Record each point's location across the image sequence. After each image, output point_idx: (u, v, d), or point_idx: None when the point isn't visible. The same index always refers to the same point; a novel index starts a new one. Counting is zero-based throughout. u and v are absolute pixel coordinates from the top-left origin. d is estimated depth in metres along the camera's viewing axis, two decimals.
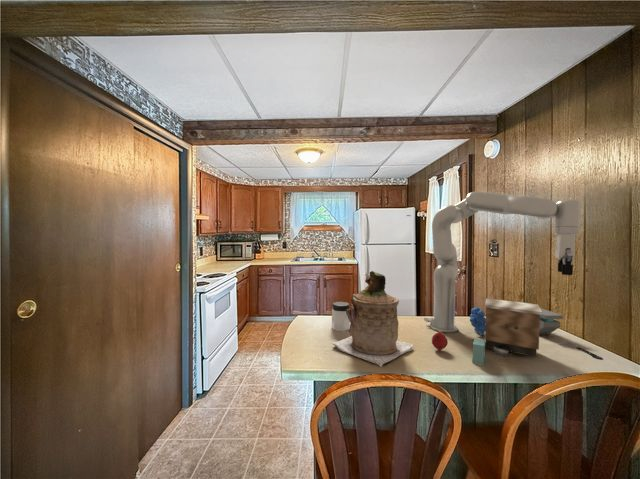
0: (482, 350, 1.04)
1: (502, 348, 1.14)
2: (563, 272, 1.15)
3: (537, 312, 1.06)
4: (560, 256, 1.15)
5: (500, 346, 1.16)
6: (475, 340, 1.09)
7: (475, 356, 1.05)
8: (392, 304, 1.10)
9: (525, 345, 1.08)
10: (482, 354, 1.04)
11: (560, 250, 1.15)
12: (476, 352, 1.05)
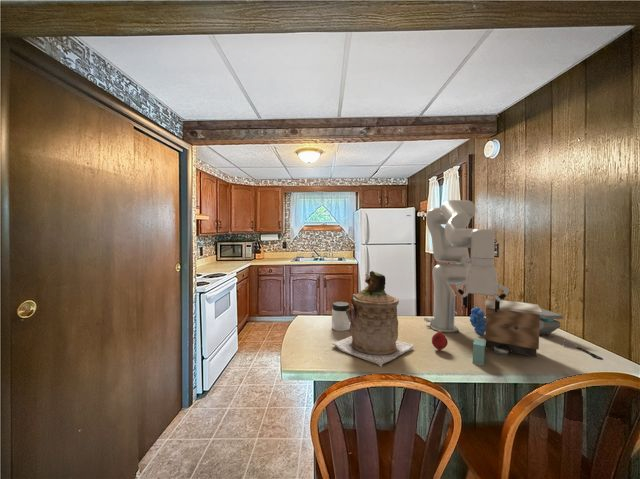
0: (482, 350, 1.04)
1: (502, 348, 1.14)
2: (497, 309, 1.03)
3: (537, 312, 1.06)
4: (496, 292, 1.03)
5: (500, 346, 1.16)
6: (475, 340, 1.09)
7: (475, 356, 1.05)
8: (392, 304, 1.10)
9: (525, 345, 1.08)
10: (482, 354, 1.04)
11: (496, 286, 1.02)
12: (476, 352, 1.05)
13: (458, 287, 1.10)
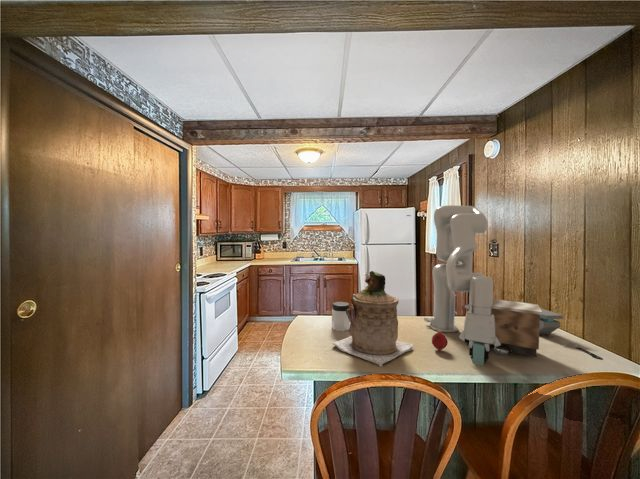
0: (482, 350, 1.04)
1: (502, 348, 1.14)
2: None
3: (537, 312, 1.06)
4: (494, 341, 1.03)
5: (500, 346, 1.16)
6: None
7: (475, 356, 1.05)
8: (392, 304, 1.10)
9: (525, 345, 1.08)
10: (482, 354, 1.04)
11: (494, 335, 1.03)
12: (476, 352, 1.05)
13: (463, 338, 1.10)
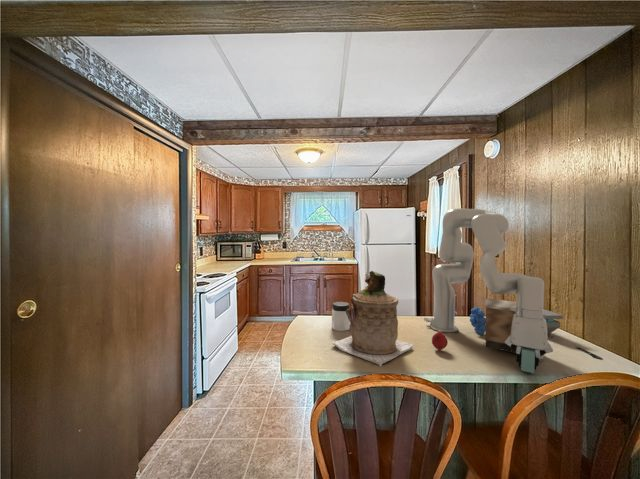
0: (532, 357, 0.97)
1: None
2: None
3: None
4: (546, 347, 0.96)
5: None
6: None
7: (525, 363, 0.98)
8: (392, 304, 1.10)
9: None
10: (532, 361, 0.97)
11: (546, 340, 0.95)
12: (525, 358, 0.98)
13: (509, 343, 1.03)
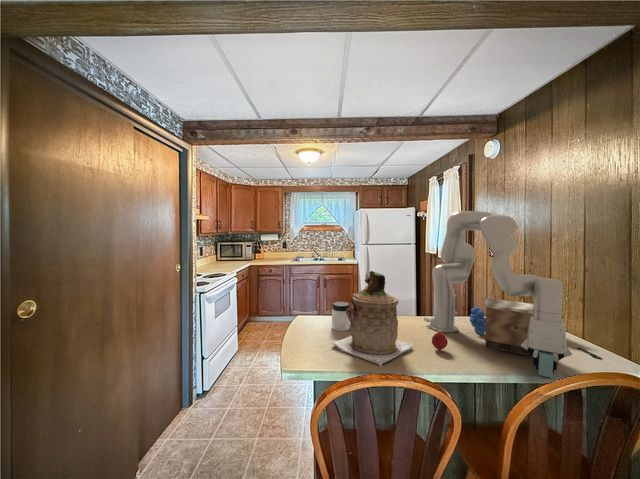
0: (551, 361, 0.94)
1: None
2: None
3: None
4: (565, 351, 0.93)
5: None
6: None
7: (543, 367, 0.95)
8: (392, 304, 1.10)
9: None
10: (551, 365, 0.94)
11: (565, 344, 0.93)
12: (543, 362, 0.95)
13: (525, 346, 1.00)
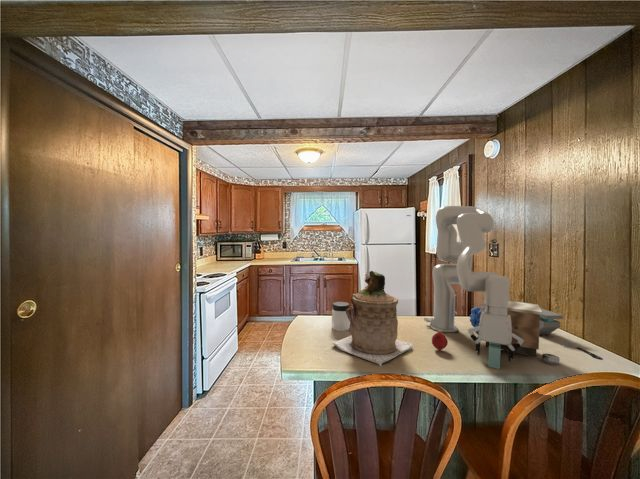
0: (498, 353, 1.02)
1: (553, 357, 1.06)
2: None
3: (537, 312, 1.06)
4: (510, 342, 1.01)
5: (549, 355, 1.08)
6: (490, 343, 1.07)
7: (491, 360, 1.03)
8: (391, 304, 1.11)
9: (525, 345, 1.08)
10: (498, 357, 1.02)
11: (511, 336, 1.01)
12: (492, 355, 1.03)
13: (471, 333, 1.09)
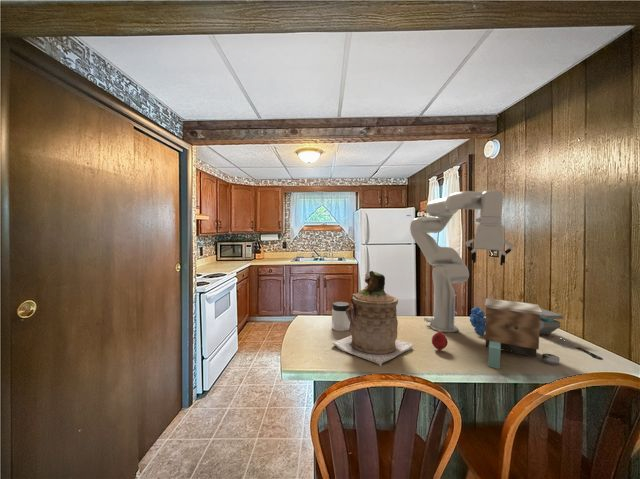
0: (498, 353, 1.02)
1: (553, 357, 1.06)
2: (502, 263, 1.15)
3: (537, 312, 1.06)
4: (502, 247, 1.14)
5: (549, 355, 1.08)
6: (490, 343, 1.07)
7: (491, 360, 1.03)
8: (391, 303, 1.11)
9: (525, 345, 1.08)
10: (498, 357, 1.02)
11: (503, 241, 1.14)
12: (492, 355, 1.03)
13: (468, 244, 1.22)
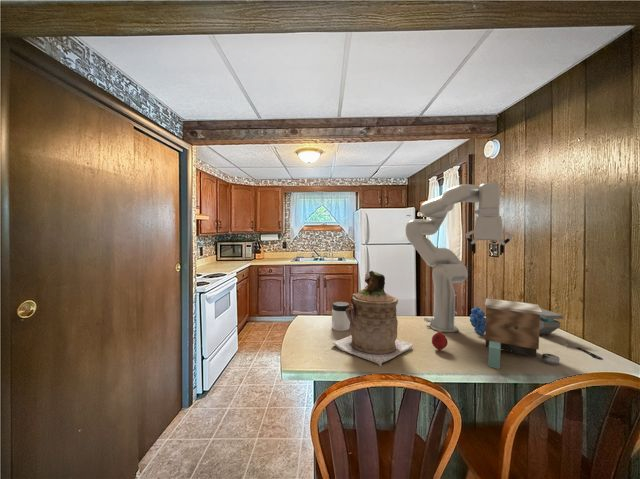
0: (498, 353, 1.02)
1: (553, 357, 1.06)
2: (501, 252, 1.18)
3: (537, 312, 1.06)
4: (501, 237, 1.17)
5: (549, 355, 1.08)
6: (490, 343, 1.07)
7: (491, 360, 1.03)
8: (391, 303, 1.11)
9: (525, 345, 1.08)
10: (498, 357, 1.02)
11: (501, 231, 1.17)
12: (492, 355, 1.03)
13: (467, 236, 1.25)
